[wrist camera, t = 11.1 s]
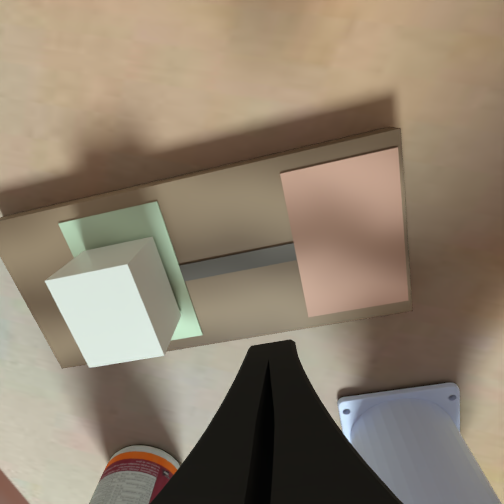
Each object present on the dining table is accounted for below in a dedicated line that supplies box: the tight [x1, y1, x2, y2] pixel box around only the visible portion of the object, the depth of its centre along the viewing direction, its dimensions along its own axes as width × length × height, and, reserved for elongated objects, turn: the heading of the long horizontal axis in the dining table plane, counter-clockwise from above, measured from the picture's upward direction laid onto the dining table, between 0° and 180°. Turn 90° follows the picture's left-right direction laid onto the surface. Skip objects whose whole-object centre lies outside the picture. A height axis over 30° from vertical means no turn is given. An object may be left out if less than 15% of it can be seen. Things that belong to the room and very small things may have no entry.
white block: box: [45, 236, 181, 368], centre depth 18 cm, size 5×4×4 cm
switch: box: [0, 127, 412, 368], centre depth 20 cm, size 10×22×2 cm, turn 103°
